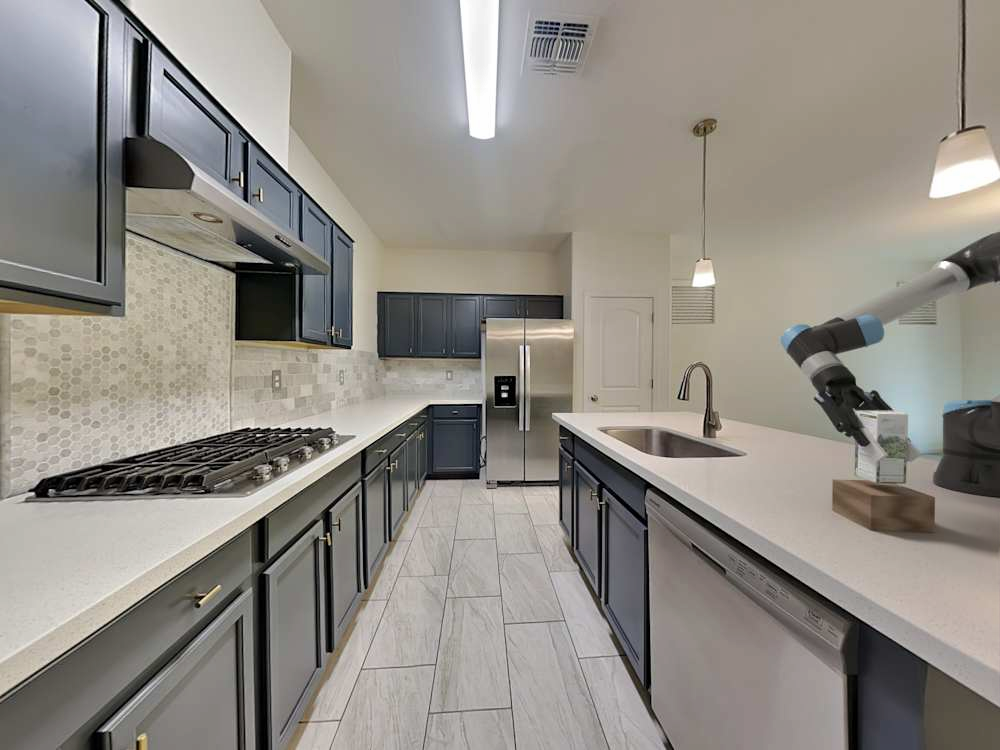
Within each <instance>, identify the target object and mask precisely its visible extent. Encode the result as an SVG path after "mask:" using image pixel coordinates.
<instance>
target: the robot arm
mask: <svg viewBox="0 0 1000 750" xmlns="http://www.w3.org/2000/svg"><path fill="white" fill-rule="evenodd" d="M990 283H994V286H996V287H997V288H999V289H1000V231H997V232H996V231H995V232H994V233H990V234H988V235H985V236H983V237H982V238H980V239H977V240H975V241H974V242H971V243H970V244H969V245H967V246H965V247H963V248H961V249H960V250H958V251H956V252H954V253H952V254H951V255H949V256H947V257H945V258H944V259H942V260H939V261H937V262H935V264H933V265H932V266H931V268H930V270H928V271H926V272H924V273H922V274H920V275H918V276H916V277H914V278H912V279H910V280H909V281H906V282H904V283H902V284H900V285H898V286H896V287H894V288H892V289H890V290H888V291H886V292H884V293H882V294H880V295H878V296H876V297H874V298H871V299H870V300H868V301H866V302H864V303H862V304H859V305H858V306H855V307H854V308H852V309H849V310H847V311H846V312H843V313H842V314H840V315H837V316H836V317H835V318H831V319H829V320H827V321H826V322H823V323H822V324H819V325H814V326H812V327H811V325H808V324H801V323H799V324H795V325H792V326H790V327H789V328H787V329H786V330H785V331H784V332H783V333H782V334H781V337H780V344H781V345H782V348H783V349H784V350H785V352H786V354H788V355H789V356H790V358H791V360H793V361H794V363H795V364H796V365H797V366H798V367H799V369H800V370H801V371H802V372H803V374H804V375H805V376H806V378H807V379H808V380H809V382H810V383H811V384H812V386H813V387H814V389H815V390H816V391H817V394H816V395H815V396H814V398H813V401H815V402H816V403H817V404H818V405H819V406H820V407H821V409H822V410H823V412H824V413H825V414H826V415H827V417H828V419H829V421H831V423H832V425H833V426H834V428H835V429H836V431H837V432H838V433H841V434H842V433H844V436H845V437H847V438H851V437H852V438H853V439H854V440H856V441H857V443H858V444H859V445H860V446H861V447H863V448H864V449H865V450H866V452H867V453H868V454H869V456H870V457H871V458H872V459H873V461H874V462H875V463H877V462H880V461H881V460H882V459H884V458H885V457H886V456H888V454H887V453H886V452H885V451H884V449H883V448H882V447H881V446H880V445H879V443H878V442H877V441H876V440H875V438H874V437H873V436H872V435H871V434H870V432H869V431H868V430H867V429H866V428H862V429H861V430H860V428H861V426H860V424H859V422H858V419H857V417H856V412H855V411H857V410H889V411H895V410H894V409H893V408H892V407H891V406H890V405H889V404H888V403H887V402H886V401H885V400H884V399H883V398H882V397H881V395H880V394H879V392H878V391H877V390H876V389H875V390H873V389H872V390H871V391H870V392H869V391H864V389H863V388H861V387H859V386H858V385H857V379H856V376H855V375H854V374H853V373H852V372H851V370H850V369H849V368H848V367H847V366H846V365H845V364H844V362H843V361H842V360H841V359H840V358H839V357H838V355H839V354H842V353H847V352H850V351H854V350H858V349H863V348H868V347H869V346H873V345H875V344H878V343H880V342H882V341H883V339H884V337H885V329H884V326H885V325H887V324H889V323H892V322H894V321H897V320H898V319H900V318H903V317H904V316H907V315H908V314H911V313H913V312H914V311H917V310H919V309H922V308H923V307H926V306H927V305H929V304H932V303H934V302H936V301H938V300H940V299H942V298H944V297H946V296H948V295H951V294H956V295H957V294H962V293H964V292H966V291H969V290H971V289H973V288H977V287H980V286H982V285H986V284H990ZM941 417H942V456H941V458H940V460H939V462H938V464H937V466H936V470H935V471H934V472H933V474H932V483H933V484H934V485H937V486H938V487H941V488H945V489H947V490H951V491H956V492H962V493H968V494H973V495H979V496H986V497H987V496H988V497H998V498H1000V393H999V394H998V395H996V396H994V397H993V398H991V399H973V400H968V399H967V400H966V399H965V400H951V401H947V402H945V404H944V405H943V410H942V415H941ZM920 456H922V453H921V452H920V451H919V450H918V448H917V447H916V446H915V445H914V444H913V443H912V440H911V439H910V438H909V437H908V439H907V463H912V462H913V461H915V460H917V458H919V457H920Z"/></svg>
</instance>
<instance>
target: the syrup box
mask: <svg viewBox="0 0 1000 750" xmlns="http://www.w3.org/2000/svg"><path fill="white" fill-rule="evenodd" d="M855 411H856V410H855ZM855 415H856V417H857V419H858V422H859V424H860V426H861V428H860V430H861V429H862V428H866V429H867V430H868V431H869V432H870V434H871V435H872V436H873V437H874V438H875V440H876V441H877V442H878V443H879V445H880V446H881V447H882V448H883V449H884V451H885V452H886V453H887V454H888V456H886V457H885V458H884V459H882V460H881V461H880V462H877V463H875V462H874V461H873V459H872V458H871V457H870V456H869V454H868V453H867V452H866V450H865V449H864V448H863V447H861V446H860V445H859V444H858V443H857V441H856V440H855V439H854V440H855V443H854V445H855V447H854V473H853V474H854V476H855V477H858V478H859V479H860V478H861V479H863V480H869V481H872V482H875V483H895V484H898V485H901V484H902V485H903V484H906V483H907V466H908V465H907V464H908V462H907V439H908V438H909V436H908V435H909V414H907V413H905V412H901V411H896V410H894V411H889V410H857V411H856V412H855Z"/></svg>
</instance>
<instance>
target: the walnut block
mask: <svg viewBox="0 0 1000 750" xmlns="http://www.w3.org/2000/svg"><path fill="white" fill-rule="evenodd" d="M831 482H832V490H831V492H832V493H831V494H832V496H831V497H832V499H831V500H832V501H831V503H832V505H831V508H832V509H831V511H833V512H835V513H836V514H838V515H840V516H842V517H844V518H846V519H847V520H850V521H852V522H854V523H856V524H858V525H859V524H860V526H861V525H862V526H861V527H863V526H864V527H863V528H865V529H867V530H868V531H872V530H873V531H874V532H877V531H878V532H896V531H900V532H902V533H919V532H921V534H922V533H925V534H935V531H936V530H935V528H936V527H935V524H936V521H935V519H936V518H935V516H936V515H935V513H936V497H935V496H933V495H929V494H927V493H924V492H922V491H918V490H916V489H912V488H909V487H907V486H903V485H901V484H895V483H875V482H872V481H869V480H866V479H863V480H862V479H832V480H831Z"/></svg>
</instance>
